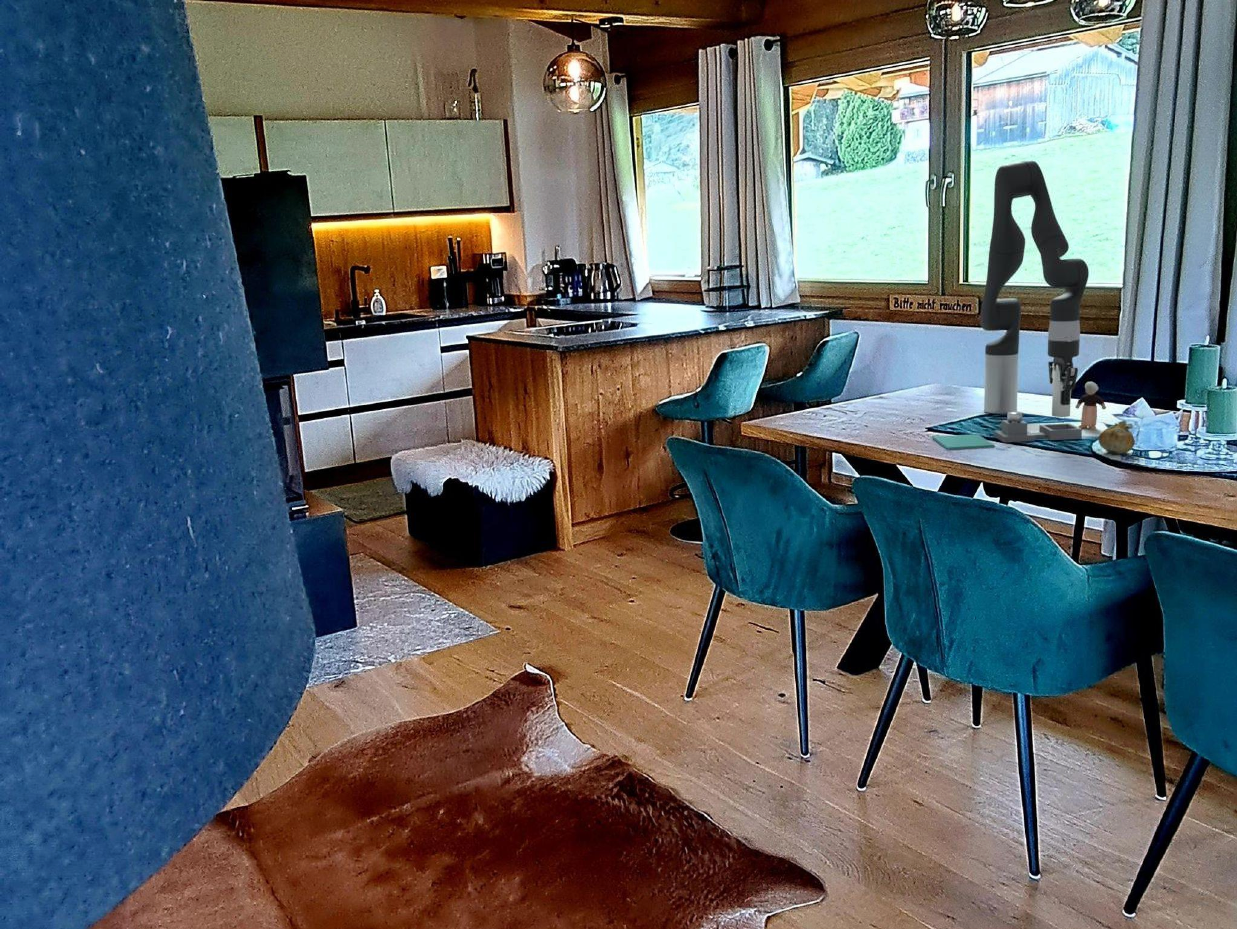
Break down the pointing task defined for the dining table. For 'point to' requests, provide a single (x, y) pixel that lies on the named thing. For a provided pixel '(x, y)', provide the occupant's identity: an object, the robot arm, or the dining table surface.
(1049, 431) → the dock
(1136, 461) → the dining table surface
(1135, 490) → the dining table surface
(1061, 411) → the cylinder
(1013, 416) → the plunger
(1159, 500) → the dining table surface
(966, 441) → the mat
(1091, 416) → the grandmother figurine
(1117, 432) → the onion
